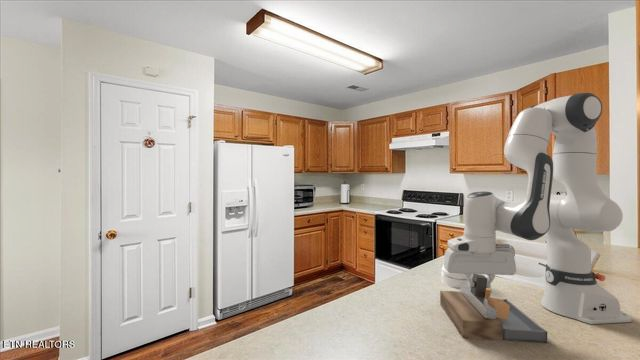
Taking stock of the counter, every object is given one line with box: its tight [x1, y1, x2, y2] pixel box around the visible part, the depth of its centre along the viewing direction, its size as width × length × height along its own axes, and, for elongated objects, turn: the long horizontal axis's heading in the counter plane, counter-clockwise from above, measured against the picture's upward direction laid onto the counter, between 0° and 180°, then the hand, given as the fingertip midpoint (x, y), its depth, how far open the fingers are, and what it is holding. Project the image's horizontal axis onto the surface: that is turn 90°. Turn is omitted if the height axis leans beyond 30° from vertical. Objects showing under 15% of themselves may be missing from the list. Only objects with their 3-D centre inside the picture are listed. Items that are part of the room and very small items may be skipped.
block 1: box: [485, 288, 492, 300], centre depth 92 cm, size 4×4×4 cm
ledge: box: [439, 290, 504, 341], centre depth 88 cm, size 10×20×5 cm, turn 174°
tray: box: [499, 298, 548, 344], centre depth 86 cm, size 12×20×3 cm, turn 174°
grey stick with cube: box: [459, 274, 497, 320], centre depth 87 cm, size 3×18×9 cm, turn 174°
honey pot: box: [441, 263, 473, 289], centre depth 118 cm, size 13×13×18 cm
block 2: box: [488, 296, 510, 319], centre depth 82 cm, size 4×4×4 cm
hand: (478, 287), depth 87 cm, fingers closed on grey stick with cube, 3 cm apart
